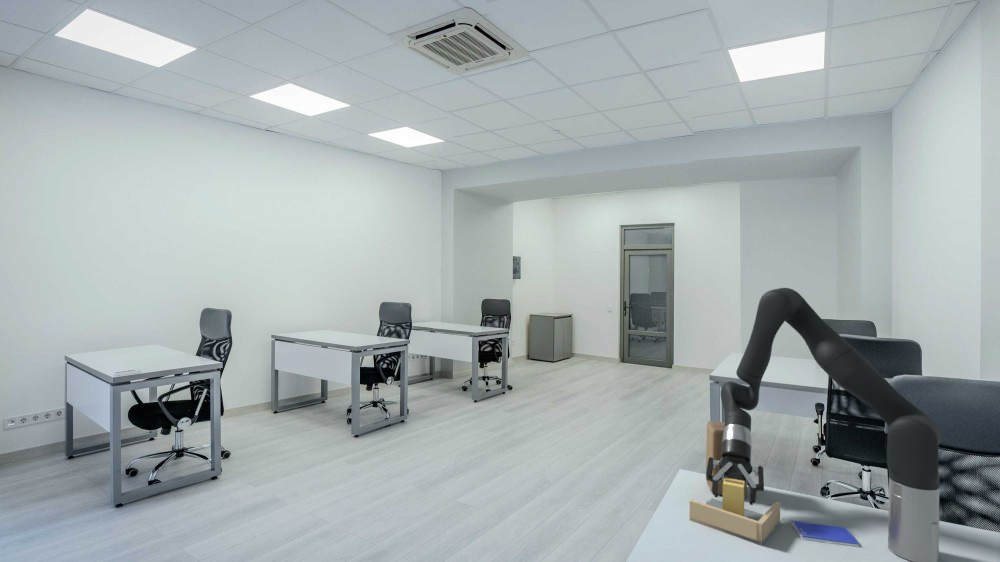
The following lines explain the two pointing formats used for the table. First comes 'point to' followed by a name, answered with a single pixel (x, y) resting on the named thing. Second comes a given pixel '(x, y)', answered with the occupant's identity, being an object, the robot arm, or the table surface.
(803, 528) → the hard drive
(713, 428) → the wooden block
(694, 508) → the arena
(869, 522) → the table surface
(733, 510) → the mustard block
